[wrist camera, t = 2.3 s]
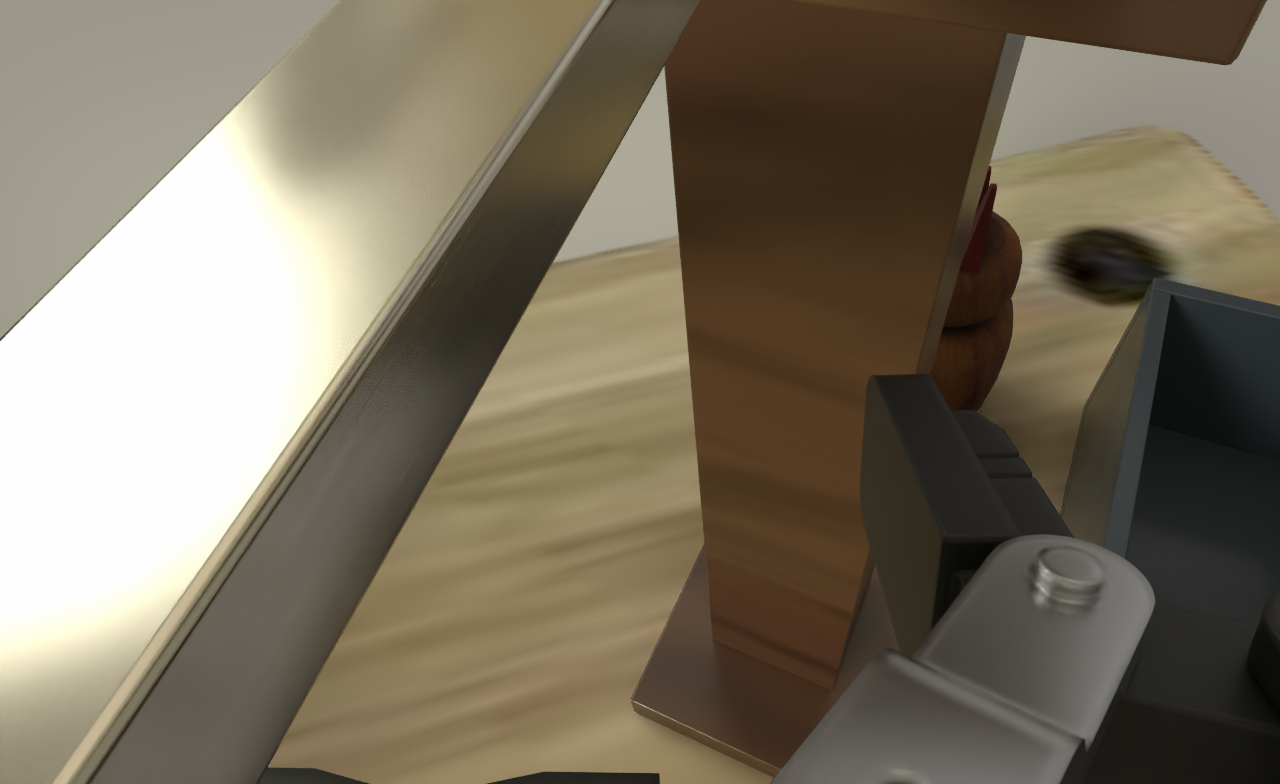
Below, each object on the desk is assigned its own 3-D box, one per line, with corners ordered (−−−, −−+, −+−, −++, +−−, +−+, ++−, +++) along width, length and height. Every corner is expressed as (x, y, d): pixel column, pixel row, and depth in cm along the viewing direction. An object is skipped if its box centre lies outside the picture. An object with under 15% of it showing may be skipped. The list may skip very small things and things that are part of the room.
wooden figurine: (954, 477, 39) (1046, 236, 27) (837, 427, 41) (875, 184, 29) (1002, 374, 42) (1104, 117, 30) (892, 334, 44) (946, 80, 32)
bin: (1362, 1070, 26) (1595, 1088, 19) (976, 885, 29) (1049, 842, 22) (1363, 484, 37) (1509, 357, 30) (1083, 405, 41) (1154, 276, 34)
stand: (851, 814, 31) (1335, -133, 6) (633, 711, 34) (303, -211, 9) (935, 542, 37) (1352, -509, 12) (743, 475, 40) (742, -477, 15)
